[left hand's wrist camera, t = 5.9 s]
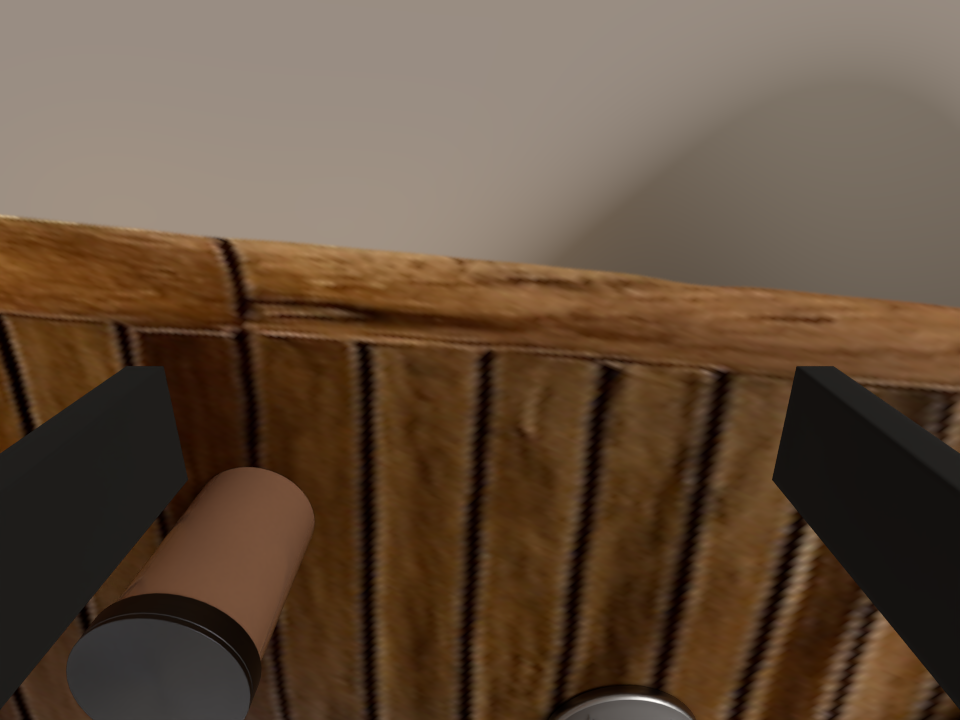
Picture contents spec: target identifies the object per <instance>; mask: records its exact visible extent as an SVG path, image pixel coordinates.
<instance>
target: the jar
mask: <svg viewBox="0 0 960 720" xmlns="http://www.w3.org/2000/svg"><path fill="white" fill-rule="evenodd" d="M314 524H315V522H314V514H313V510H312V507H311V504H310V502H309V501H308V499H307V497H306V496H305V494H304V493H303V492H302V491H301V490H300V489H299V488H298V487H297V486H296V485H295V484H294V483H293V482H291V481H290V480H288V479H287V478H285V477H283V476H282V475H280V474H278V473H275V472H272V471H269V470H266V469H261V468H255V467H241V468H234V469H230V470H227V471H224V472H222V473H220V474H218V475H216V476H215V477H213V478H212V479H211V480H209V481H208V482H207V483H206V485H205V486H204V487H203V488H202V490H201V491H200V492H199V494H198V495H197V496H196V498H195V499H194V500H193V502H192V503H191V504H190V505H189V507H188V508H187V509H186V511H185V512H184V513H183V515H182V516H181V517H180V519H179V520H178V521H177V523H176V524H175V525H174V527H173V528H172V529H171V531H170V532H169V533H168V535H167V536H166V537H165V538H164V540H163V541H162V542H161V544H160V545H159V546H158V548H157V549H156V550H155V552H154V553H153V554H152V556H151V557H150V558H149V560H148V561H147V562H146V564H145V565H144V566H143V568H142V569H141V570H140V571H139V573H138V574H137V575H136V577H135V578H134V579H133V581H132V582H131V583H130V585H129V586H128V587H127V589H126V590H125V591H124V593H123V594H122V595H121V597H120V598H119V599H118V601H120V600H122V599H125V598H128V597H131V596H135V595H141V594H150V593H167V594H175V595H182V596H186V597H190V598H194V599H197V600H199V601H202V602H205V603H207V604H209V605H212V606H214V607H216V608H217V609H219V610H221V611H223V612H224V613H226V614H227V615H229V616H230V617H231V618H233V619H234V620H235V621H236V622H237V623H239V624H240V625H241V626H242V627H243V628H244V630H245V631H246V632H247V633H248V634H249V636H250V637H251V639H252V640H253V642H254V643H255V646H256V648H257V650H258V653H259V656H260V660H261V661H262V658H263V656H264V653H265V651H266V648H267V646H268V643H269V641H270V638H271V636H272V634H273V631H274V629H275V626H276V624H277V621H278V619H279V616H280V614H281V611H282V609H283V606H284V604H285V601H286V599H287V597H288V594H289V592H290V589H291V587H292V584H293V582H294V579H295V577H296V574H297V572H298V569H299V567H300V565H301V562H302V560H303V557H304V555H305V552H306V550H307V547H308V545H309V542H310V540H311V537H312V535H313V531H314ZM118 601H117V602H118Z"/></svg>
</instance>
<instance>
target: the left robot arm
mask: <svg viewBox="0 0 960 720" xmlns="http://www.w3.org/2000/svg"><path fill="white" fill-rule="evenodd" d="M187 480H188V478H187V473H186V469H185V464H184V459H183V455H182V450H181V445H180V441H179V436H178V432H177V427H176V422H175V418H174V413H173V408H172V404H171V399H170V395H169V390H168V385H167V381H166V376H165V371H164V367H163V366H126V367H125V368H123V369H122V370H120V371H119V372H118V373H116V374H115V375H113V376H112V377H110V378H109V379H107V380H106V381H105V382H103V383H102V384H100V385H99V386H97V387H96V388H94V389H93V390H92V391H90V392H89V393H87V394H86V395H84V396H83V397H81V398H80V399H78V400H77V401H76V402H74V403H73V404H71V405H70V406H68V407H67V408H65V409H64V410H63V411H61V412H60V413H58V414H57V415H55V416H54V417H52V418H51V419H50V420H48V421H47V422H45V423H44V424H42V425H41V426H39V427H38V428H37V429H35V430H34V431H32V432H31V433H29V434H28V435H26V436H25V437H23V438H22V439H21V440H19V441H18V442H16V443H15V444H13V445H12V446H10V447H9V448H8V449H6V450H5V451H3V452H2V453H0V709H1V708H2V707H3V705H4V704H5V703H6V702H7V701H8V699H9V698H10V697H11V696H12V694H13V693H14V692H15V691H16V690H17V688H18V687H19V686H20V685H21V683H22V682H23V681H24V680H25V679H26V677H27V676H28V675H29V674H30V672H31V671H32V670H33V669H34V668H35V666H36V665H37V664H38V663H39V661H40V660H41V659H42V658H43V657H44V655H45V654H46V653H47V652H48V650H49V649H50V648H51V647H52V645H53V644H54V643H55V642H56V641H57V639H58V638H59V637H60V636H61V634H62V633H63V632H64V631H65V630H66V628H67V627H68V626H69V625H70V623H71V622H72V621H73V620H74V619H75V617H76V616H77V615H78V614H79V612H80V611H81V610H82V609H83V608H84V606H85V605H86V604H87V603H88V601H89V600H90V599H91V598H92V597H93V595H94V594H95V593H96V592H97V590H98V589H99V588H100V587H101V585H102V584H103V583H104V582H105V581H106V579H107V578H108V577H109V576H110V574H111V573H112V572H113V571H114V570H115V568H116V567H117V566H118V565H119V563H120V562H121V561H122V560H123V559H124V557H125V556H126V555H127V554H128V552H129V551H130V550H131V549H132V548H133V546H134V545H135V544H136V543H137V541H138V540H139V539H140V538H141V537H142V535H143V534H144V533H145V532H146V530H147V529H148V528H149V527H150V526H151V524H152V523H153V522H154V521H155V519H156V518H157V517H158V516H159V514H160V513H161V512H162V511H163V510H164V508H165V507H166V506H167V505H168V503H169V502H170V501H171V500H172V499H173V497H174V496H175V495H176V494H177V492H178V491H179V490H180V489H181V488H182V486H183V485H184V484H185V483H186V481H187ZM772 480H773V481H774V483H775V484H776V485H777V486H778V488H779V489H780V490H781V491H782V492H783V494H784V495H785V496H786V497H787V499H788V500H789V501H790V502H791V503H792V505H793V506H794V507H795V508H796V510H797V511H798V512H799V513H800V514H801V516H802V517H803V518H804V519H805V521H806V522H807V523H808V524H809V526H810V527H811V528H812V529H813V530H814V532H815V533H816V534H817V535H818V537H819V538H820V539H821V540H822V541H823V543H824V544H825V545H826V546H827V548H828V549H829V550H830V551H831V552H832V554H833V555H834V556H835V557H836V559H837V560H838V561H839V562H840V563H841V565H842V566H843V567H844V568H845V570H846V571H847V572H848V573H849V574H850V576H851V577H852V578H853V579H854V581H855V582H856V583H857V584H858V585H859V587H860V588H861V589H862V590H863V592H864V593H865V594H866V595H867V597H868V598H869V599H870V600H871V601H872V603H873V604H874V605H875V606H876V608H877V609H878V610H879V611H880V612H881V614H882V615H883V616H884V617H885V619H886V620H887V621H888V622H889V623H890V625H891V626H892V627H893V628H894V630H895V631H896V632H897V633H898V634H899V636H900V637H901V638H902V639H903V641H904V642H905V643H906V644H907V645H908V647H909V648H910V649H911V650H912V652H913V653H914V654H915V655H916V657H917V658H918V659H919V660H920V661H921V663H922V664H923V665H924V666H925V668H926V669H927V670H928V671H929V672H930V674H931V675H932V676H933V677H934V679H935V680H936V681H937V682H938V683H939V685H940V686H941V687H942V688H943V690H944V691H945V692H946V693H947V694H948V696H949V697H950V698H951V699H952V701H953V702H954V703H955V704H956V705H957V707H958V708H959V709H960V453H958V452H957V451H955V450H954V449H952V448H951V447H950V446H948V445H947V444H945V443H944V442H942V441H941V440H939V439H938V438H937V437H935V436H934V435H932V434H931V433H929V432H928V431H926V430H925V429H923V428H922V427H921V426H919V425H918V424H916V423H915V422H913V421H912V420H910V419H909V418H908V417H906V416H905V415H903V414H902V413H900V412H899V411H897V410H896V409H895V408H893V407H892V406H890V405H889V404H887V403H886V402H884V401H883V400H882V399H880V398H879V397H877V396H876V395H874V394H873V393H871V392H870V391H868V390H867V389H866V388H864V387H863V386H861V385H860V384H858V383H857V382H855V381H854V380H853V379H851V378H850V377H848V376H847V375H845V374H844V373H842V372H841V371H840V370H838V369H837V368H835V367H834V366H797V367H796V371H795V376H794V381H793V385H792V390H791V395H790V399H789V404H788V408H787V413H786V418H785V422H784V427H783V432H782V436H781V441H780V445H779V450H778V455H777V459H776V464H775V469H774V473H773V478H772ZM548 720H696V719H695V716H694V715H693V713H692V712H691V711H690V710H689V708H688V707H687V706H686V705H685V704H683V703H682V702H681V701H680V700H678V699H677V698H675V697H673V696H672V695H669V694H667V693H665V692H662V691H660V690H656V689H653V688H648V687H643V686H632V685H621V686H610V687H604V688H600V689H596V690H592V691H589V692H586V693H584V694H581V695H579V696H577V697H575V698H573V699H571V700H570V701H568V702H566V703H565V704H564V705H562V706H561V707H560V708H559V709H557V710H556V711H555V712H554V713H553V714H552V716H551V717H550V718H549V719H548Z"/></svg>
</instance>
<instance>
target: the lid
mask: <svg viewBox="0 0 960 720" xmlns="http://www.w3.org/2000/svg"><path fill="white" fill-rule="evenodd" d="M66 673H67V681H68V684H69V688H70V690H71V692H72V694H73V697H74V698H75V700H76V701H77V703H78V704H79V706H80V707H81V708H82V709H83V710H84V711H85V713H86V714H88V715H89V716H90V717H91V718H92V719H93V720H244V718H245V717H246V715H247V712H248V710H249V708H250V705H251V703H252V700H253V697H254V695H255V692H256V690H257V687H258V685H259V681H260V678H261V660H260V656H259V653H258V650H257V648H256V646H255V643H254V642H253V640H252V639H251V637H250V636H249V634H248V633H247V632H246V631H245V630H244V628H243V627H242V626H241V625H240V624H239V623H237V622H236V621H235V620H234V619H233V618H231V617H230V616H229V615H227V614H226V613H224V612H223V611H221V610H219V609H217V608H216V607H214V606H212V605H209V604H207V603H205V602H202V601H199V600H197V599H194V598H190V597H186V596H182V595H175V594H167V593H150V594H141V595H135V596H131V597H128V598H125V599H122V600H120V601H118V602H115V603H113V604H112V605H110V606H109V607H107V608H106V609H104V610H103V611H102V612H101V613H100V614H99V615H98V616H97V617H96V619H95V620H94V621H93V622H92V624H91V625H90V626H89V627H88V629H87V630H86V631H85V633H84V634H83V635H82V637H81V638H80V639H79V640H78V642H77V643H76V644H75V646H74V647H73V649H72V651H71V653H70V655H69V658H68V661H67V670H66Z"/></svg>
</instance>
